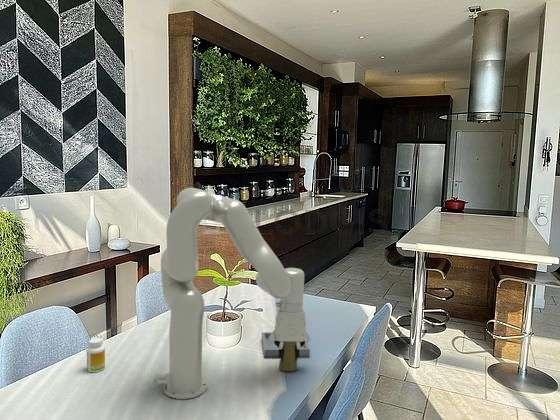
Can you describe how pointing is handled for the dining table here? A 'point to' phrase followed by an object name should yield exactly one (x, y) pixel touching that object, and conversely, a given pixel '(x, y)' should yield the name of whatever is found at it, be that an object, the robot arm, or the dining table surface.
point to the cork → (288, 357)
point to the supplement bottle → (95, 355)
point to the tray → (273, 351)
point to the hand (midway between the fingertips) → (288, 358)
